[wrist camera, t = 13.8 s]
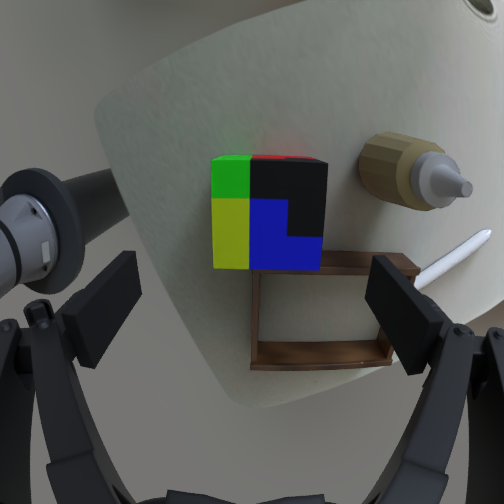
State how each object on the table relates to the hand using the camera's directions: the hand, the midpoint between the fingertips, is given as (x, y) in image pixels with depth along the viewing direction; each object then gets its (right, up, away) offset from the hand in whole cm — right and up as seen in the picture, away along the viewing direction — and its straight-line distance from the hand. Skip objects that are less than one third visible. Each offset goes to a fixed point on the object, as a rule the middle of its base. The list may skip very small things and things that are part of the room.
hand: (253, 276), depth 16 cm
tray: (+10, -6, +25) cm, 27 cm away
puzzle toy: (+2, +8, +20) cm, 21 cm away
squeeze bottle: (+16, +12, +18) cm, 27 cm away
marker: (+30, +1, +22) cm, 37 cm away
